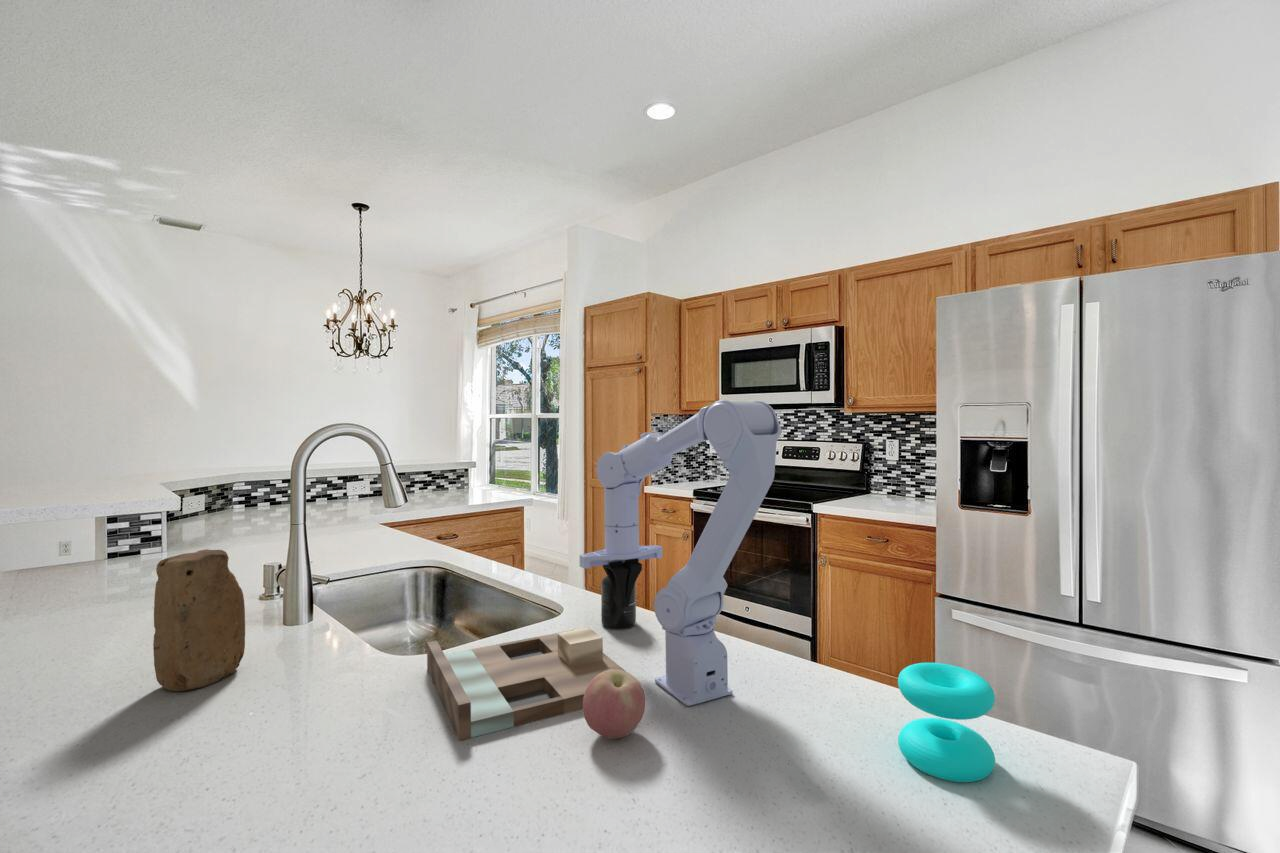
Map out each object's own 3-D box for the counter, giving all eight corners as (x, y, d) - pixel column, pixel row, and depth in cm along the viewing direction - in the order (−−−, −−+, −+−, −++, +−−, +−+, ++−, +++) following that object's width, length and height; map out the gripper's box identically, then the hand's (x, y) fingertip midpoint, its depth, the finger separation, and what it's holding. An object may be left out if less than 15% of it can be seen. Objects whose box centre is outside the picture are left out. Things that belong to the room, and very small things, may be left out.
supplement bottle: (635, 630, 114) (635, 567, 114) (600, 630, 114) (599, 567, 114) (636, 618, 121) (636, 558, 120) (603, 618, 121) (602, 559, 121)
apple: (589, 757, 71) (588, 690, 71) (578, 725, 78) (577, 664, 78) (652, 746, 73) (652, 681, 73) (636, 717, 80) (636, 657, 80)
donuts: (1005, 675, 69) (978, 704, 62) (1006, 761, 69) (979, 800, 62) (916, 652, 76) (883, 676, 69) (917, 730, 76) (884, 761, 69)
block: (176, 698, 87) (173, 562, 87) (149, 689, 90) (146, 557, 90) (252, 670, 97) (250, 547, 97) (225, 662, 100) (223, 543, 100)
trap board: (638, 694, 87) (637, 663, 87) (459, 740, 75) (458, 705, 75) (574, 640, 108) (574, 616, 108) (427, 669, 96) (426, 642, 96)
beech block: (602, 659, 95) (602, 637, 95) (570, 666, 92) (570, 644, 92) (588, 648, 99) (588, 627, 99) (557, 654, 97) (557, 633, 97)
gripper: (648, 517, 106) (648, 593, 106) (572, 524, 99) (572, 606, 99) (668, 523, 100) (669, 603, 100) (589, 531, 93) (589, 618, 93)
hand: (622, 605), depth 99 cm, fingers closed
